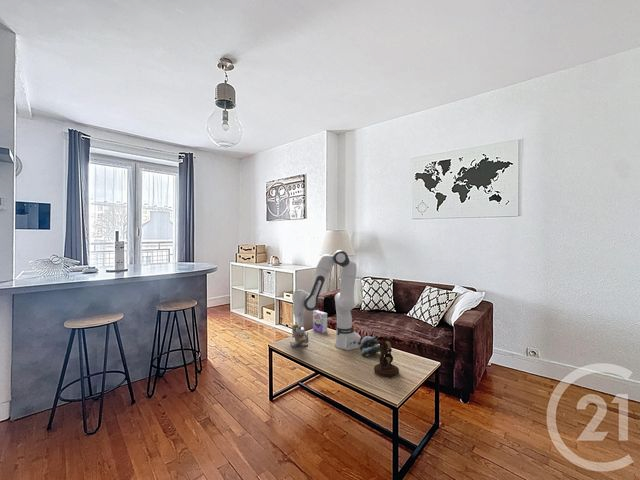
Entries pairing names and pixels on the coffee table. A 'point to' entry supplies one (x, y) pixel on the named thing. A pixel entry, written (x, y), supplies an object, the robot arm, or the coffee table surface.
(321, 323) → the candy box
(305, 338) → the grey gold rectangular frame
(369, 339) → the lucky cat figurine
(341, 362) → the coffee table surface
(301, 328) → the rider
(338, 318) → the robot arm
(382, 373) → the brown statuette
